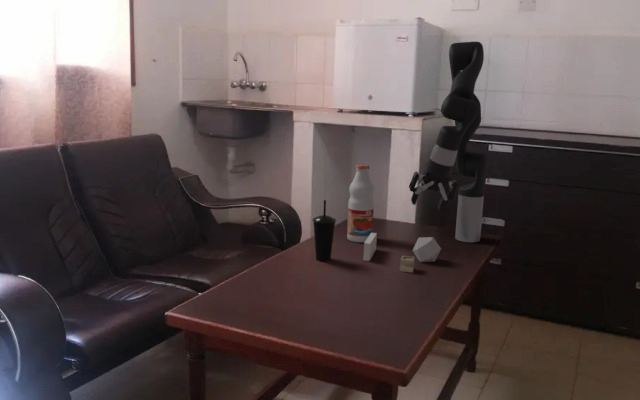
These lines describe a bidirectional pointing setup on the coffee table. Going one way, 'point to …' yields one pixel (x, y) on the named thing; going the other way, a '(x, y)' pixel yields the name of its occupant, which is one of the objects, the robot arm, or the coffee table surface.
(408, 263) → the letter block
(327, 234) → the drinking cup
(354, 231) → the fruit juice
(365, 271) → the coffee table surface
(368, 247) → the rail
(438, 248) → the die
